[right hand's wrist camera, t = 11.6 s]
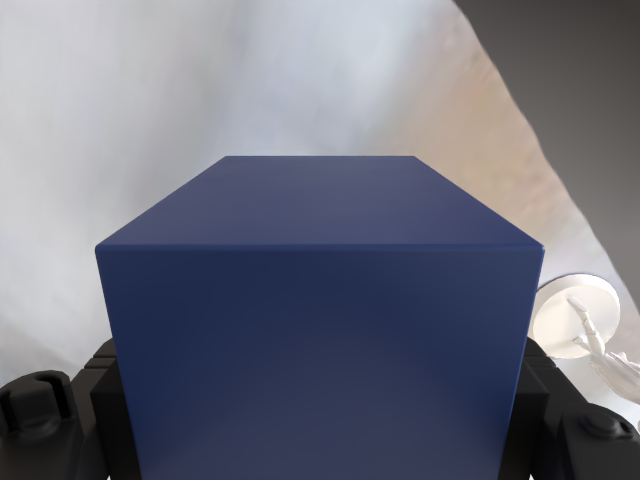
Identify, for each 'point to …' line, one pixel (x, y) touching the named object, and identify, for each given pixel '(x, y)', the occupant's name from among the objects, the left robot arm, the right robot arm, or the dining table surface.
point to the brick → (319, 323)
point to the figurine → (584, 329)
